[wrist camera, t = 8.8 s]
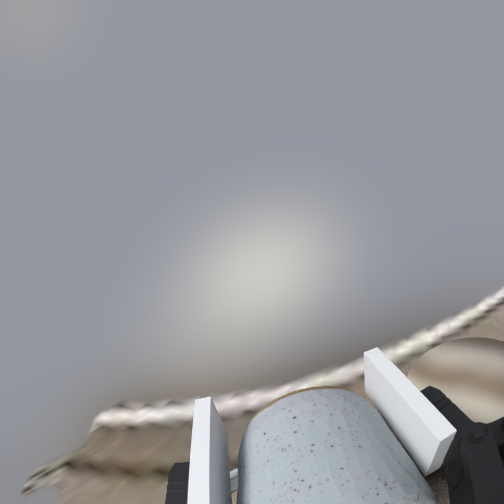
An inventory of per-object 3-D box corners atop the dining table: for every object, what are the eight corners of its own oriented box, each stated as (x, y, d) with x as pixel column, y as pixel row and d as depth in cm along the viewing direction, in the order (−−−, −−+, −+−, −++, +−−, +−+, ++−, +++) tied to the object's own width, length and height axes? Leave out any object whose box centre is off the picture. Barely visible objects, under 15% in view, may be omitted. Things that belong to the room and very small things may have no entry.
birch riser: (439, 355, 26) (443, 327, 25) (534, 379, 14) (545, 349, 13) (371, 433, 20) (373, 406, 19) (492, 487, 8) (512, 461, 7)
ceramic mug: (368, 439, 13) (366, 347, 12) (418, 534, 5) (468, 472, 4) (205, 478, 13) (151, 400, 12) (202, 582, 5) (109, 543, 4)
